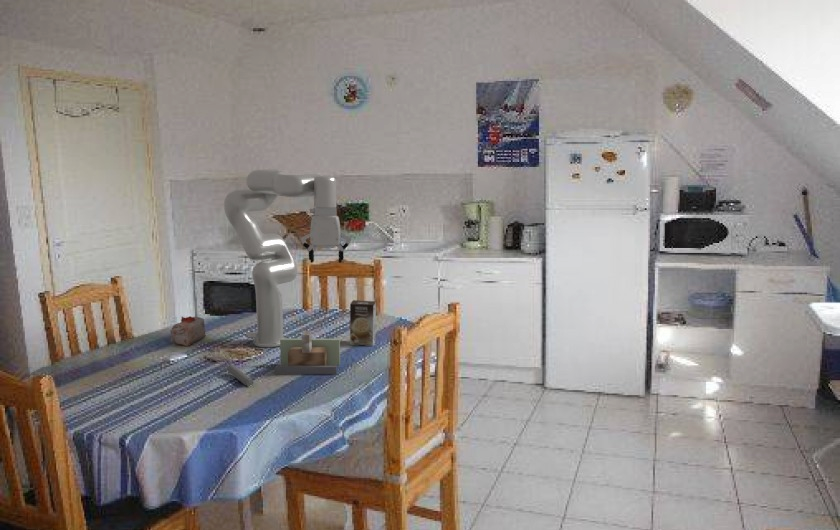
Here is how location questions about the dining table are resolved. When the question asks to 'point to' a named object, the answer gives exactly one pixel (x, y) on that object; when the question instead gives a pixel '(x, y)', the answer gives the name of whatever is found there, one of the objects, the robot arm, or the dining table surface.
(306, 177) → the robot arm
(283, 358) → the cleat board
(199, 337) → the food item
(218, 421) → the dining table surface
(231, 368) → the kitchen whisk
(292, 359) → the walnut mallet
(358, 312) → the coffee box
